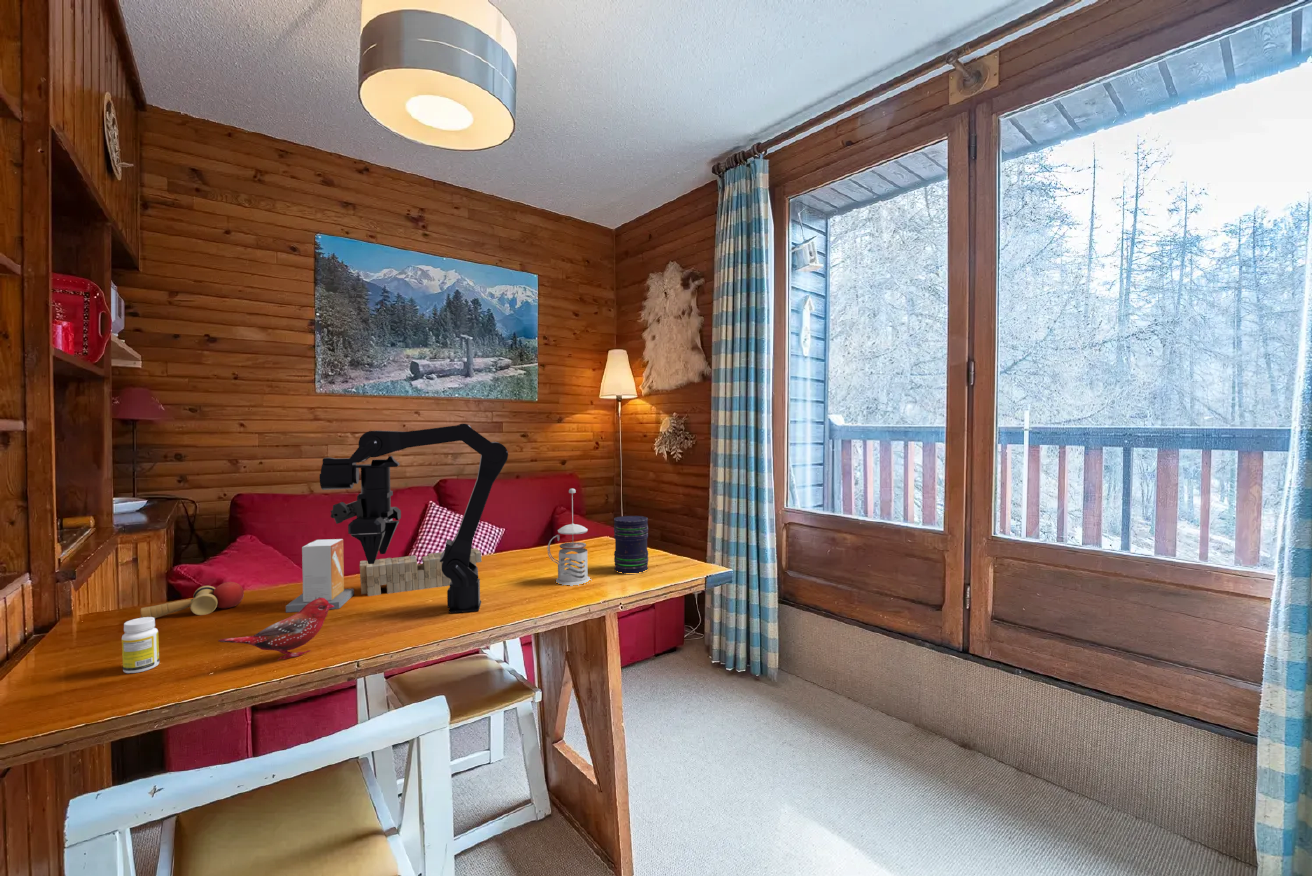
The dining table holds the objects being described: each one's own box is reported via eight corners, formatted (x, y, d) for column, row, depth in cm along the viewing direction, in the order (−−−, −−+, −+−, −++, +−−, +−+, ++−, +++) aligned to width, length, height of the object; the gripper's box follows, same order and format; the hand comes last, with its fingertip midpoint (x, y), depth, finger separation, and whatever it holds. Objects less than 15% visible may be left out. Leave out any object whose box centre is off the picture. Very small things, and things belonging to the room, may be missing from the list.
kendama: (141, 633, 119) (245, 604, 129) (135, 603, 119) (240, 577, 129) (147, 629, 125) (246, 602, 135) (142, 601, 125) (241, 576, 136)
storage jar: (610, 573, 158) (609, 521, 157) (618, 565, 167) (618, 515, 167) (645, 575, 156) (644, 521, 156) (651, 566, 166) (650, 516, 165)
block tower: (361, 601, 138) (483, 582, 151) (359, 567, 138) (481, 551, 151) (361, 592, 145) (478, 574, 158) (359, 560, 145) (476, 545, 158)
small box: (332, 601, 130) (330, 545, 130) (302, 602, 129) (300, 546, 129) (345, 590, 138) (343, 538, 138) (316, 592, 137) (315, 539, 137)
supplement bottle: (138, 662, 101) (136, 616, 100) (166, 661, 101) (165, 615, 101) (114, 674, 96) (113, 626, 96) (144, 673, 96) (142, 624, 96)
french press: (589, 585, 146) (588, 490, 145) (544, 586, 146) (543, 490, 145) (593, 575, 156) (592, 486, 155) (552, 575, 156) (550, 486, 155)
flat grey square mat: (354, 594, 140) (353, 588, 140) (339, 608, 129) (339, 602, 129) (305, 597, 138) (305, 591, 138) (285, 612, 127) (285, 605, 127)
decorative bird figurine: (337, 648, 106) (336, 596, 106) (220, 679, 94) (218, 620, 93) (333, 644, 108) (332, 593, 108) (217, 673, 96) (216, 615, 96)
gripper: (349, 484, 130) (350, 551, 130) (319, 494, 112) (320, 571, 112) (400, 483, 132) (402, 548, 133) (379, 492, 114) (381, 568, 114)
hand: (377, 558), depth 123 cm, fingers open, 9 cm apart
